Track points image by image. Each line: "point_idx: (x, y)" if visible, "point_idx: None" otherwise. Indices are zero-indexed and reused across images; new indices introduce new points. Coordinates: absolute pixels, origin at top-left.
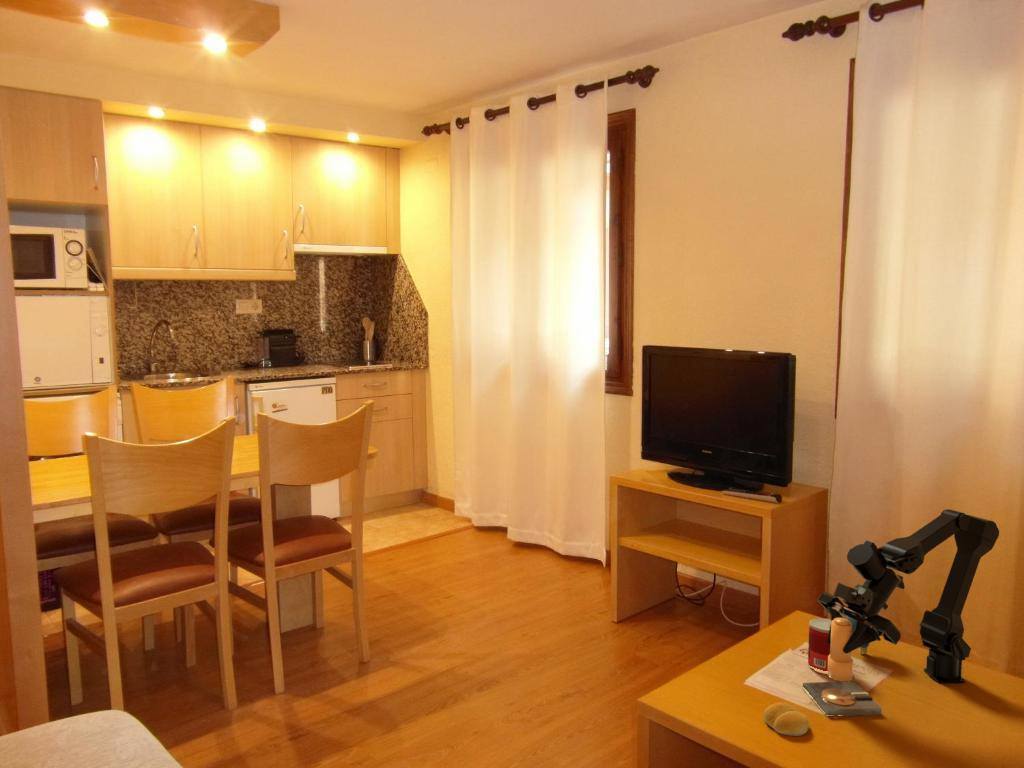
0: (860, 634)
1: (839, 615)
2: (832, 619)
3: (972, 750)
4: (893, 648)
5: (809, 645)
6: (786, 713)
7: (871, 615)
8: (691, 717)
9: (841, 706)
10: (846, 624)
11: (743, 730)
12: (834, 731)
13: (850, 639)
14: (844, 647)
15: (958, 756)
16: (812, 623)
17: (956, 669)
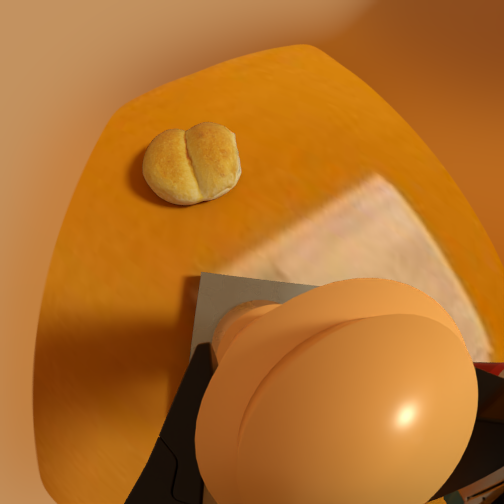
0: (132, 498)
1: (501, 452)
2: (493, 384)
3: (56, 464)
4: None
5: (473, 362)
6: (173, 138)
7: None
8: (257, 59)
9: (210, 324)
10: (237, 468)
11: (200, 98)
12: (140, 254)
13: (192, 417)
14: (206, 355)
15: (39, 427)
16: None
17: None
